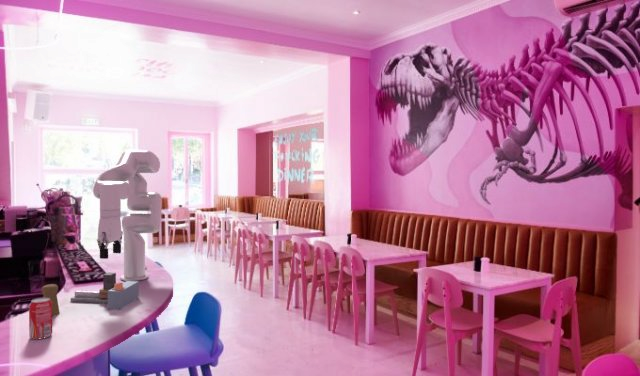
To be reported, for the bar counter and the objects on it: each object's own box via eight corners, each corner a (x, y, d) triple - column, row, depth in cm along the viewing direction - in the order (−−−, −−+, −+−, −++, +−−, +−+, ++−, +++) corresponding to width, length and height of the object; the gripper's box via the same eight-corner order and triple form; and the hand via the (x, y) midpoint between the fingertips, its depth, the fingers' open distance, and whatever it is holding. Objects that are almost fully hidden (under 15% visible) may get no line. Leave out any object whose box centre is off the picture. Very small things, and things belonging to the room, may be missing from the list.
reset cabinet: (127, 297, 184) (127, 280, 183) (138, 298, 183) (138, 281, 183) (107, 309, 169) (107, 290, 168) (120, 309, 168) (120, 291, 168)
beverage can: (36, 333, 144) (35, 296, 143) (56, 333, 144) (56, 296, 144) (25, 340, 137) (24, 302, 137) (46, 340, 138) (45, 302, 137)
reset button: (116, 297, 174) (117, 282, 173) (124, 297, 173) (124, 282, 173) (112, 299, 171) (112, 284, 170) (120, 300, 170) (120, 284, 170)
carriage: (105, 294, 181) (105, 272, 180) (119, 295, 180) (119, 272, 180) (99, 298, 176) (99, 274, 176) (114, 298, 176) (113, 275, 176)
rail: (79, 297, 182) (79, 289, 182) (124, 299, 181) (124, 290, 181) (70, 301, 176) (70, 293, 176) (116, 303, 175) (116, 295, 175)
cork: (50, 318, 158) (50, 287, 157) (36, 316, 159) (36, 286, 158) (63, 312, 164) (63, 283, 163) (49, 311, 165) (49, 282, 164)
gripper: (112, 210, 186) (113, 250, 187) (88, 216, 168) (89, 260, 170) (130, 211, 185) (130, 251, 186) (107, 216, 168) (108, 261, 169)
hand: (110, 255), depth 178 cm, fingers open, 9 cm apart
